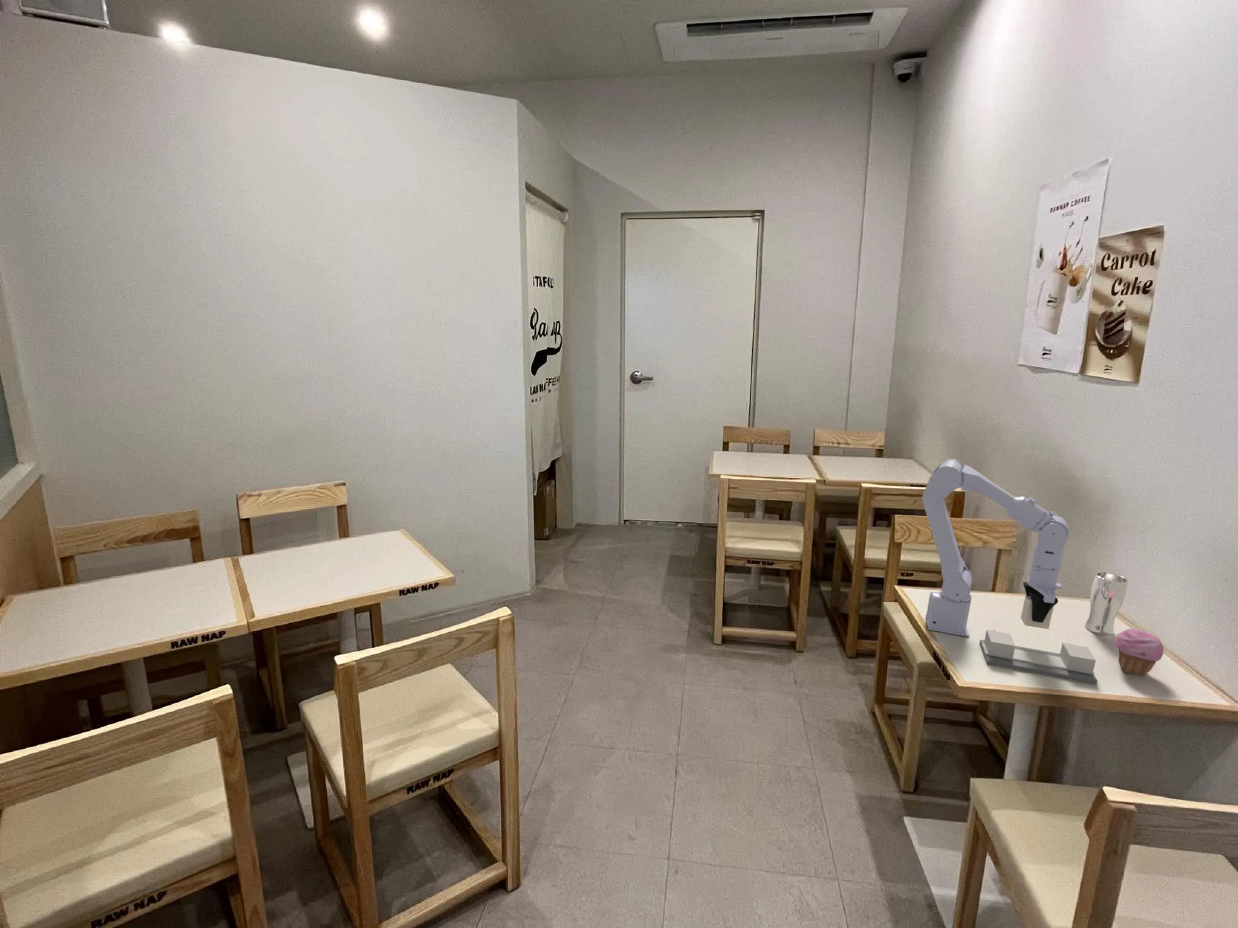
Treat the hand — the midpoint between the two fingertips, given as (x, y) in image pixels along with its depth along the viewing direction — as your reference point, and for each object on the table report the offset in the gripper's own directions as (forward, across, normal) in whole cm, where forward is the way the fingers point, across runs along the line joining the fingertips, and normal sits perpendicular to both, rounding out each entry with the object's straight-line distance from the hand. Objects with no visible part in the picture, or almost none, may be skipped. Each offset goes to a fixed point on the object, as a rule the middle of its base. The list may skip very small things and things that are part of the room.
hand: (1034, 616), depth 158 cm
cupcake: (+9, -2, -21) cm, 23 cm away
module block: (+2, 0, 0) cm, 2 cm away
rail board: (+8, -7, 0) cm, 11 cm away
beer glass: (+9, +18, -20) cm, 28 cm away
